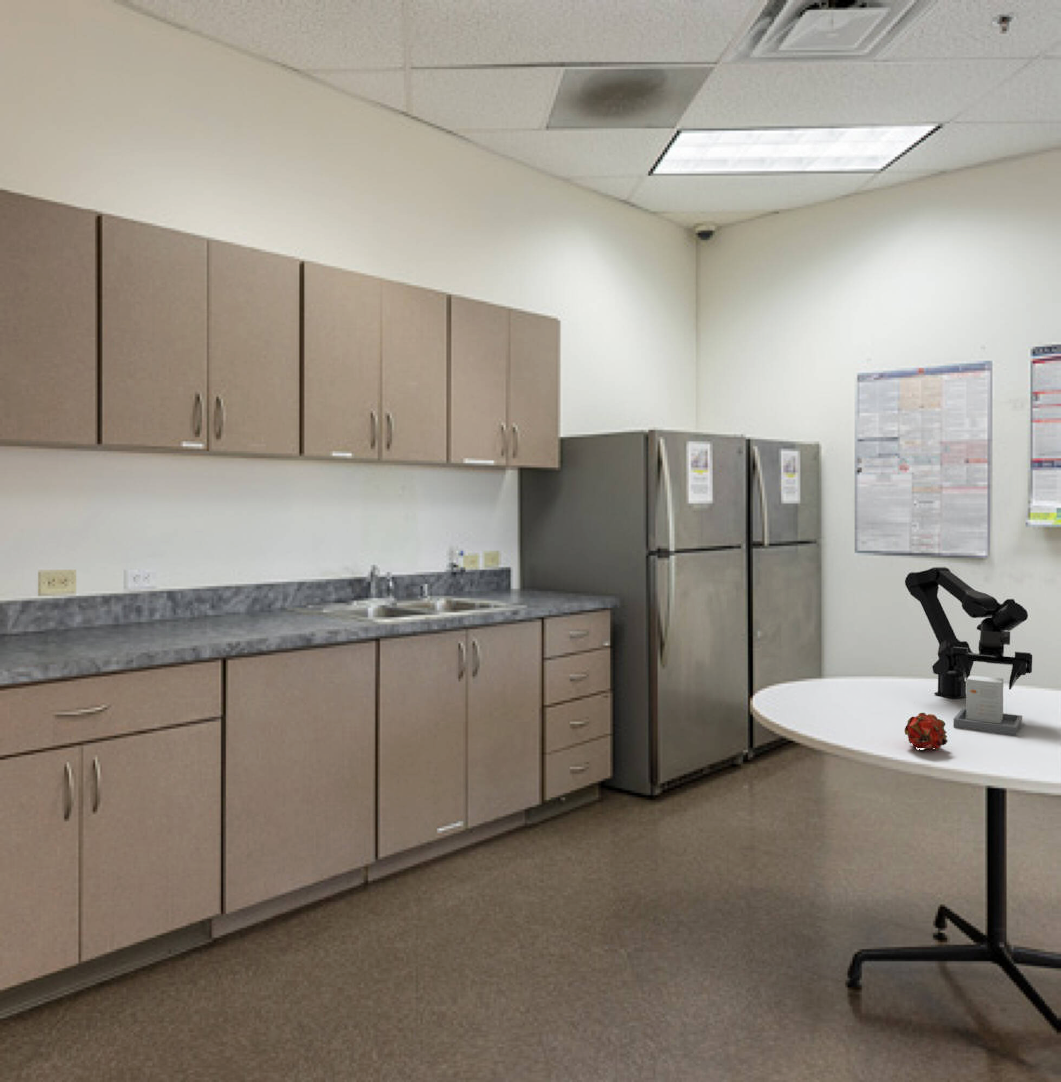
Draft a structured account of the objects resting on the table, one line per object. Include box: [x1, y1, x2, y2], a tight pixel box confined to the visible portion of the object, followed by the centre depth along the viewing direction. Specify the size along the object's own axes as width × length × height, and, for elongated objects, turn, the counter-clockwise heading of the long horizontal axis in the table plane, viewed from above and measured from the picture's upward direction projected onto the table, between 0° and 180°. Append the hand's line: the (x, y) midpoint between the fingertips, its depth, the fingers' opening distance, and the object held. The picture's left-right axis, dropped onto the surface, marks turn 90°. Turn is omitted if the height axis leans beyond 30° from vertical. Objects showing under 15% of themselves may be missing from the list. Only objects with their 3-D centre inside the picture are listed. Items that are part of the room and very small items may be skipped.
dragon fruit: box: [904, 712, 949, 750], centre depth 193 cm, size 8×8×12 cm
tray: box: [953, 707, 1023, 736], centre depth 213 cm, size 14×14×2 cm
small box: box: [965, 675, 1004, 724], centre depth 216 cm, size 8×6×10 cm
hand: (989, 686), depth 219 cm, fingers open, 9 cm apart
